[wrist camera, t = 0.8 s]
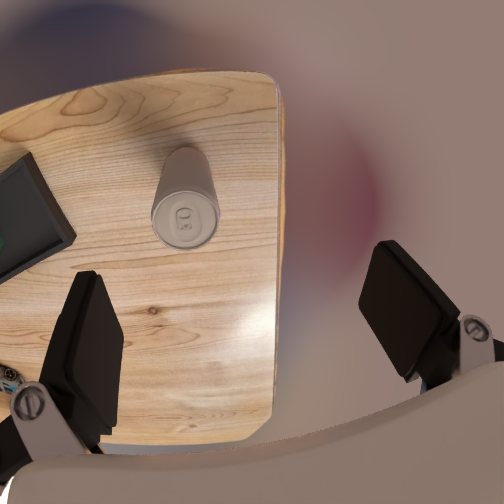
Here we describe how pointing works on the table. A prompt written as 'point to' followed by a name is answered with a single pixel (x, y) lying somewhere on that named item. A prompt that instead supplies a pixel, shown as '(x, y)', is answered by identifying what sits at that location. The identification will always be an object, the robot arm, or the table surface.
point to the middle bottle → (1, 244)
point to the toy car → (9, 380)
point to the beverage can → (185, 202)
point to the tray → (29, 219)
